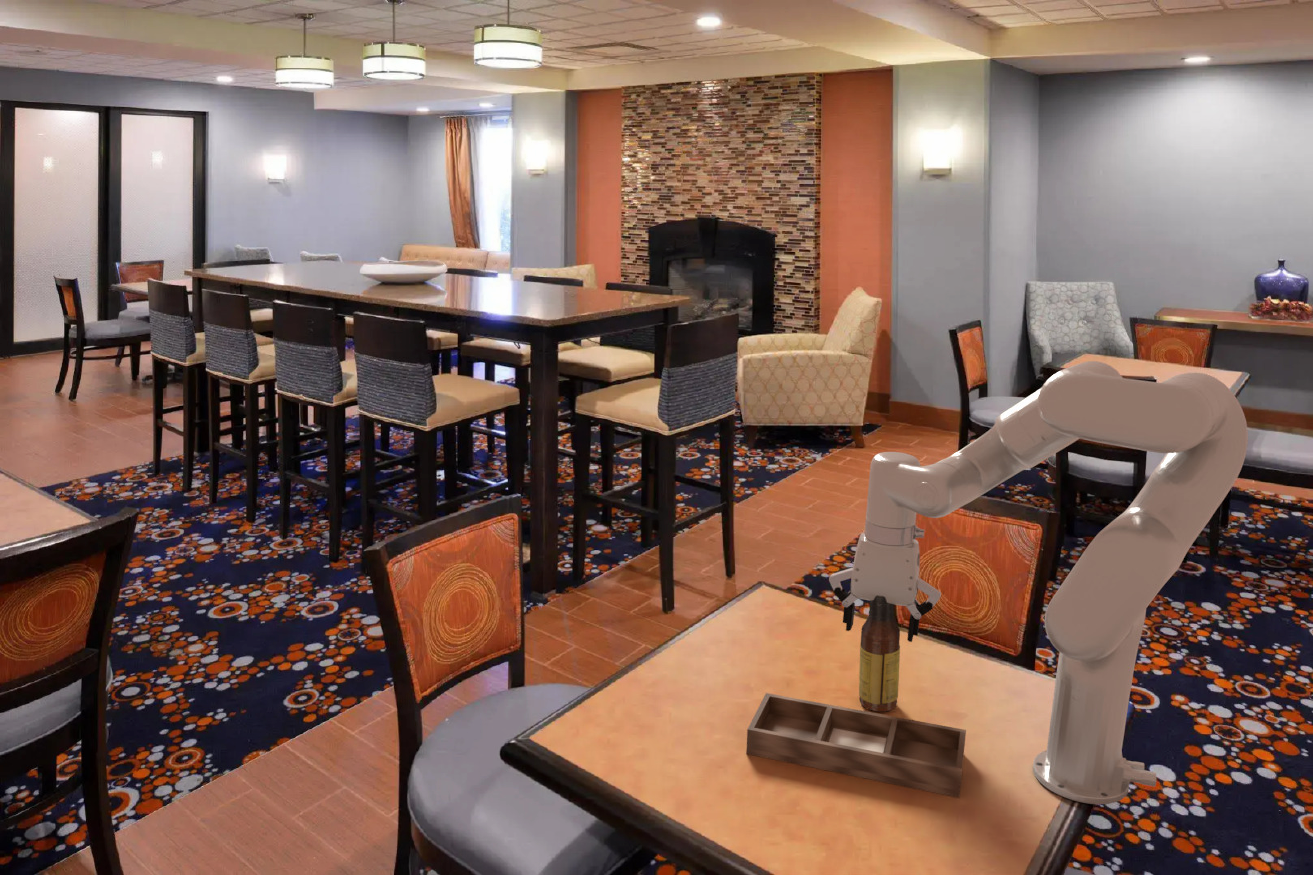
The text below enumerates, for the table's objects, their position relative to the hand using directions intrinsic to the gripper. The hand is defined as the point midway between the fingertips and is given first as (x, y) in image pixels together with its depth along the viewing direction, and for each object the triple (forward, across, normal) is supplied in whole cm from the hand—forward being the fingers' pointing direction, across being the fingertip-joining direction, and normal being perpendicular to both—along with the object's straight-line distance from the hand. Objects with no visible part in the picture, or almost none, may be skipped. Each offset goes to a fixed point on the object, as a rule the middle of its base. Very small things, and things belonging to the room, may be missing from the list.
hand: (879, 632), depth 158 cm
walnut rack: (+12, 0, +16) cm, 20 cm away
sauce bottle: (+13, -1, 0) cm, 13 cm away
